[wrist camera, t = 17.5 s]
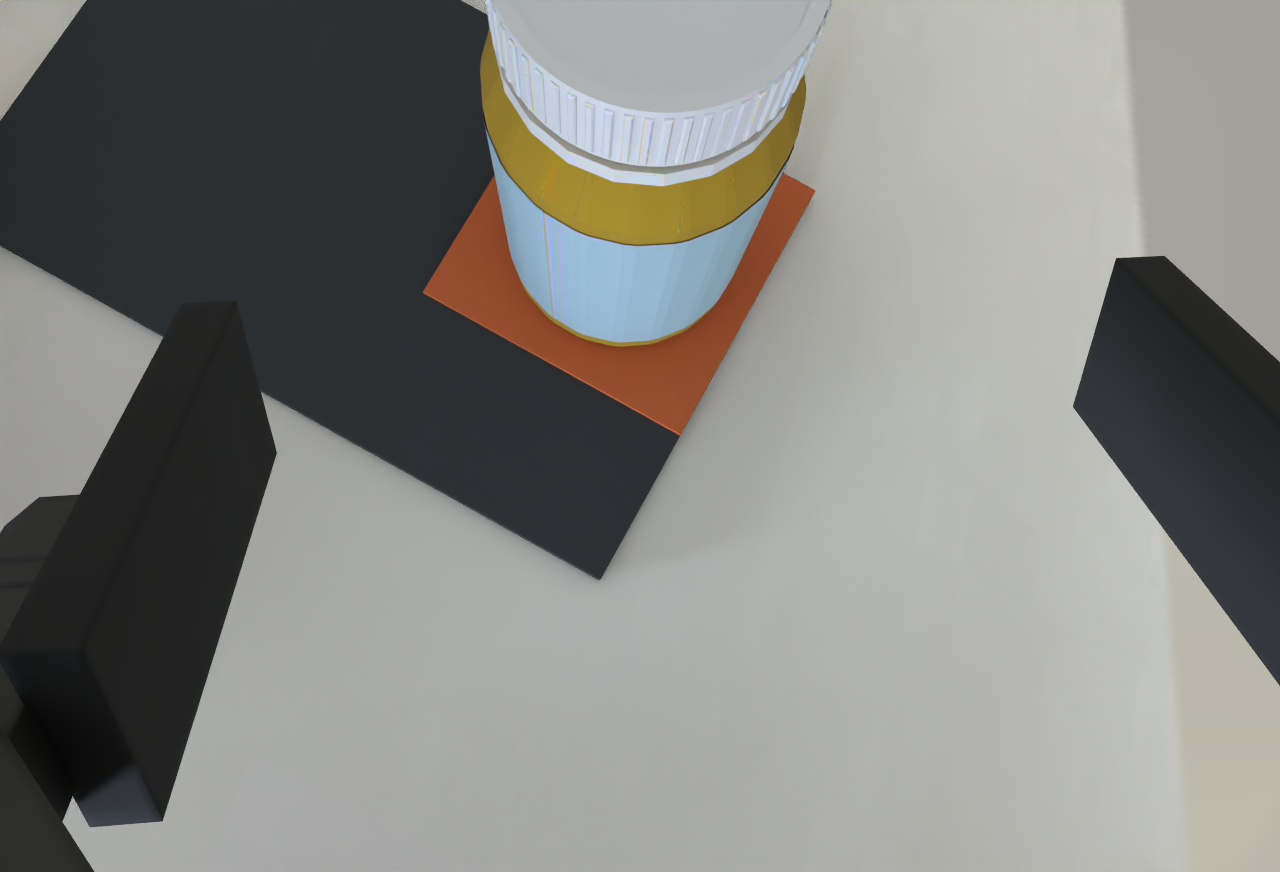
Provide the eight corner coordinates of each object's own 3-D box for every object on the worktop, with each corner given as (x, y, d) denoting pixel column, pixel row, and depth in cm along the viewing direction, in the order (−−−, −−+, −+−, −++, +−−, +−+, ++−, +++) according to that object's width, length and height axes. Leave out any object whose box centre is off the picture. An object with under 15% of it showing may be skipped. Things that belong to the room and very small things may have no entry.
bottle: (662, 393, 32) (734, 216, 17) (467, 276, 32) (372, 1, 17) (775, 209, 33) (934, -107, 18) (586, 96, 33) (592, -306, 18)
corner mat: (-56, 214, 32) (-68, 206, 32) (195, -140, 34) (188, -152, 34) (599, 580, 32) (600, 580, 31) (811, 197, 34) (815, 190, 33)
